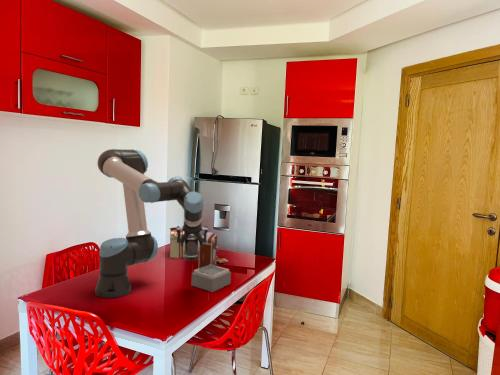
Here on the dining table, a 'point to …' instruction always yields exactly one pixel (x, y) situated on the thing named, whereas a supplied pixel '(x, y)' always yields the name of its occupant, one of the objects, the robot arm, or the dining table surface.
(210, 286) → the square shallow tray
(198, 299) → the dining table surface
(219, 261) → the pastry
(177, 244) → the gift box
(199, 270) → the square picture frame
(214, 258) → the cine camera
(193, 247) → the lens
